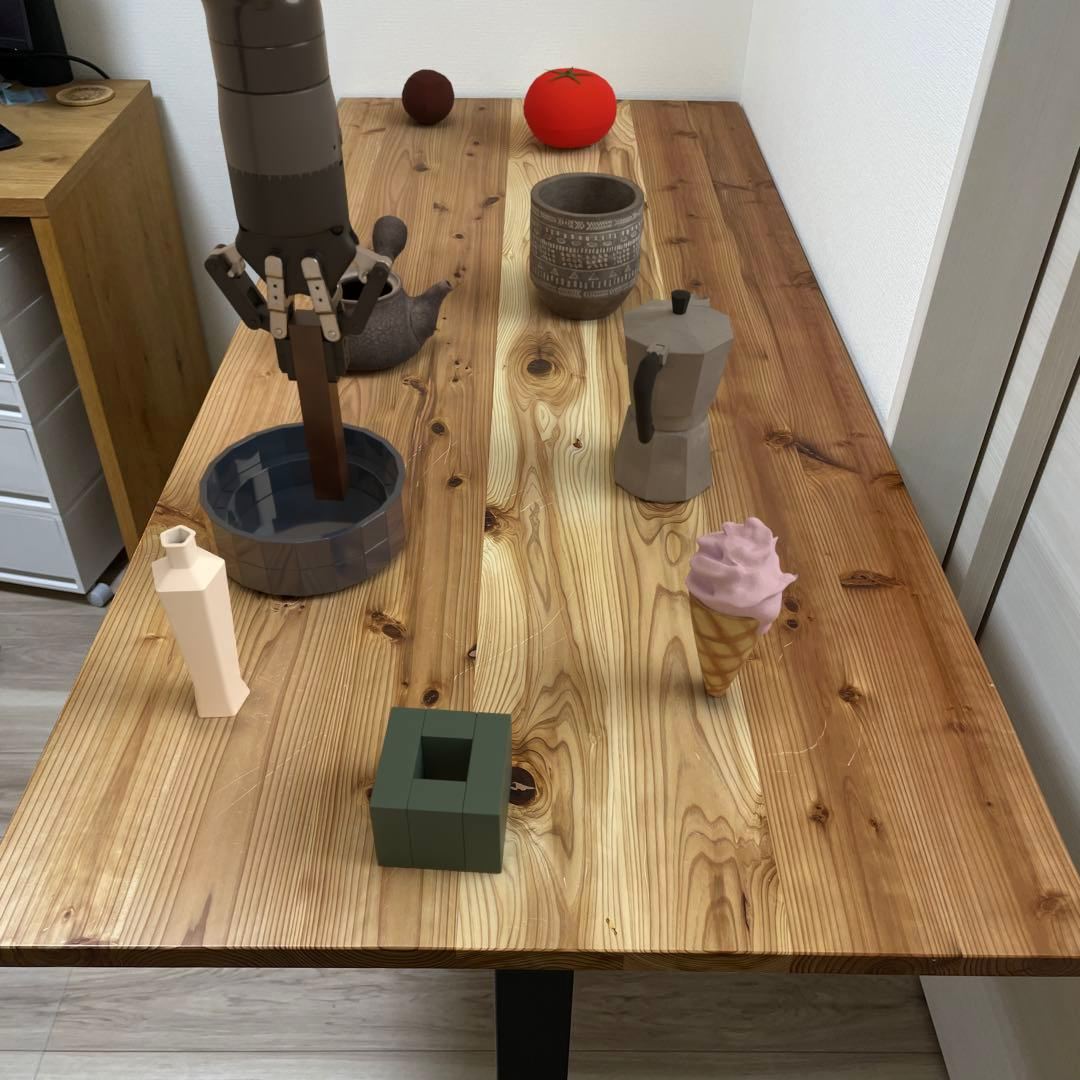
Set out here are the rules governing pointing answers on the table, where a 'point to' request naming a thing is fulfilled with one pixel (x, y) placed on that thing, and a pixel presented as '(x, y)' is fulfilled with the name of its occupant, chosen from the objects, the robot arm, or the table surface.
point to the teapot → (391, 308)
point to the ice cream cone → (733, 597)
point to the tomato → (570, 108)
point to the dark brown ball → (428, 96)
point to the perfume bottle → (201, 621)
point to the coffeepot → (670, 396)
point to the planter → (585, 242)
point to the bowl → (304, 512)
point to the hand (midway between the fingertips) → (316, 375)
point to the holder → (443, 790)
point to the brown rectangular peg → (319, 408)
